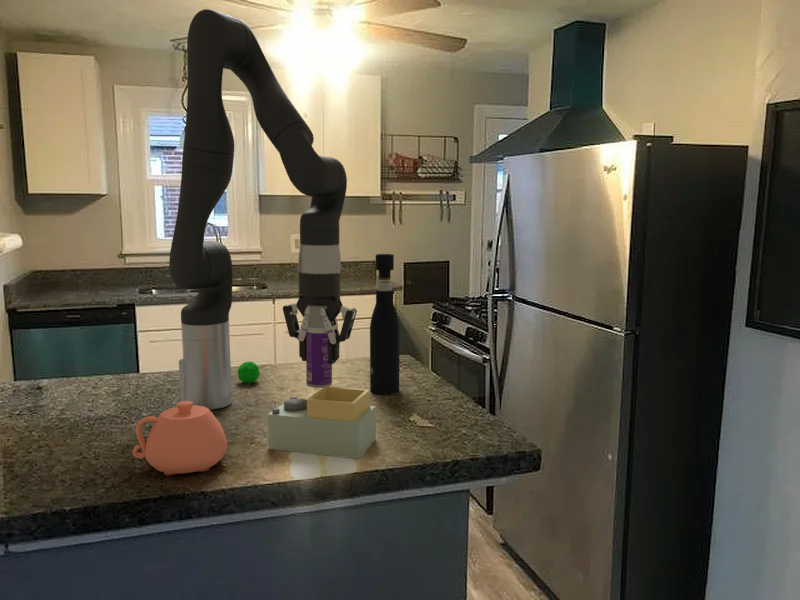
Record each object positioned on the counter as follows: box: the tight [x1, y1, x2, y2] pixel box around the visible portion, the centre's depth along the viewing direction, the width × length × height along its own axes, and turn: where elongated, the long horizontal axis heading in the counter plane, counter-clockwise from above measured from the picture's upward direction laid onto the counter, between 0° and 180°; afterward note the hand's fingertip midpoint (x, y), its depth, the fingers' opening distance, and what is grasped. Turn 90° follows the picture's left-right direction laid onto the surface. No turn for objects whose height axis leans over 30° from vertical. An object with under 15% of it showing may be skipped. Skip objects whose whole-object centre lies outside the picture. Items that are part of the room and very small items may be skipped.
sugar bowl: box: [132, 400, 228, 476], centre depth 101 cm, size 12×14×10 cm
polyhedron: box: [237, 361, 261, 384], centre depth 149 cm, size 5×5×5 cm
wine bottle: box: [369, 253, 400, 396], centre depth 141 cm, size 6×6×30 cm
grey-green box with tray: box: [267, 386, 377, 459], centre depth 111 cm, size 16×9×9 cm, turn 75°
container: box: [305, 305, 333, 389], centre depth 119 cm, size 5×5×15 cm
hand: (319, 361), depth 119 cm, fingers closed on container, 4 cm apart
